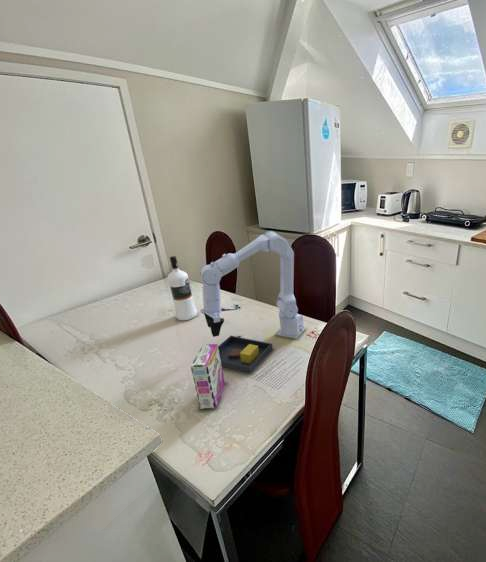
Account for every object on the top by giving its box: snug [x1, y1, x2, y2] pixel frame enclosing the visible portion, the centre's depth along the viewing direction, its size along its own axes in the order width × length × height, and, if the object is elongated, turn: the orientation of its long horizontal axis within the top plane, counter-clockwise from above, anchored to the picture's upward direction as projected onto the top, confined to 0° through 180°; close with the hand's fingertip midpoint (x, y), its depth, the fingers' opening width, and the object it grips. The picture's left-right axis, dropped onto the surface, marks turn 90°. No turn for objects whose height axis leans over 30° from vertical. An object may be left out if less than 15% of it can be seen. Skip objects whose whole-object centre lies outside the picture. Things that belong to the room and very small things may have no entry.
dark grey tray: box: [218, 335, 273, 375], centre depth 118 cm, size 19×15×3 cm
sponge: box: [240, 344, 259, 364], centre depth 116 cm, size 4×6×4 cm, turn 162°
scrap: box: [228, 349, 243, 358], centre depth 119 cm, size 4×4×1 cm
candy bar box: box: [190, 343, 226, 410], centre depth 97 cm, size 11×5×16 cm, turn 5°
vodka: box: [166, 255, 198, 322], centre depth 142 cm, size 9×9×30 cm
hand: (213, 331), depth 117 cm, fingers open, 7 cm apart
